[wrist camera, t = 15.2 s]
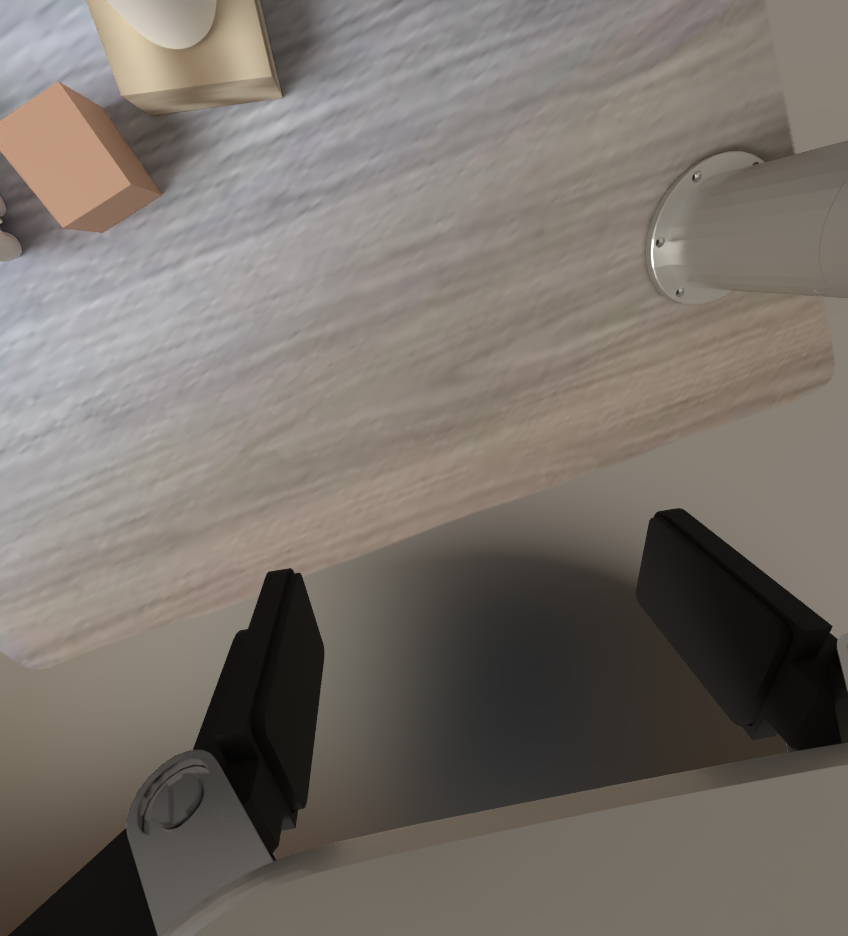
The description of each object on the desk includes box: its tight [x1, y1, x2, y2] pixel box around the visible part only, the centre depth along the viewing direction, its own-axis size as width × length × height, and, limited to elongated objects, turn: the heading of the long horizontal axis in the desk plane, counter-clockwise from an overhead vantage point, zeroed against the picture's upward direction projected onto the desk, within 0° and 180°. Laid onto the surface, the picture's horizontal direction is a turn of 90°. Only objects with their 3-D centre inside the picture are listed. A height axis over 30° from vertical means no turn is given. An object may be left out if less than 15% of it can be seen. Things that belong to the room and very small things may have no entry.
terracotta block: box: [0, 81, 162, 233], centre depth 29 cm, size 6×6×5 cm
